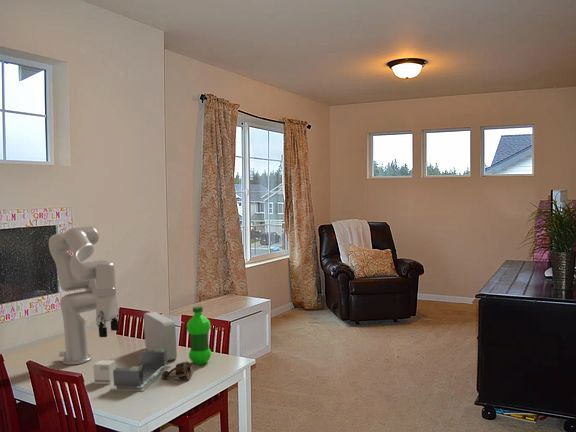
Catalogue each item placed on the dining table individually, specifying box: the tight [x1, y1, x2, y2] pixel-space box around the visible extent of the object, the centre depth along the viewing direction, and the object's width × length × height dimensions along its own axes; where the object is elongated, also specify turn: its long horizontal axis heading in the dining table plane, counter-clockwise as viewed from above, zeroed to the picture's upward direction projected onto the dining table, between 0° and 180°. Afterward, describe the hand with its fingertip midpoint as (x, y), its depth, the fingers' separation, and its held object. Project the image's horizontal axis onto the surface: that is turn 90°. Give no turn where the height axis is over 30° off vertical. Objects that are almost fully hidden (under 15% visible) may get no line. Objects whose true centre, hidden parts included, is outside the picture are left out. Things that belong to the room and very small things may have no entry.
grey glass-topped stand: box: [109, 348, 172, 392], centre depth 220 cm, size 14×27×9 cm, turn 169°
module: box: [93, 359, 117, 385], centre depth 218 cm, size 7×5×8 cm
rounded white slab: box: [143, 311, 178, 362], centre depth 253 cm, size 29×8×18 cm, turn 33°
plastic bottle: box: [186, 305, 212, 366], centre depth 236 cm, size 10×10×25 cm
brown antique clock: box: [161, 360, 194, 381], centre depth 219 cm, size 7×13×10 cm
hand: (109, 333), depth 219 cm, fingers open, 9 cm apart
